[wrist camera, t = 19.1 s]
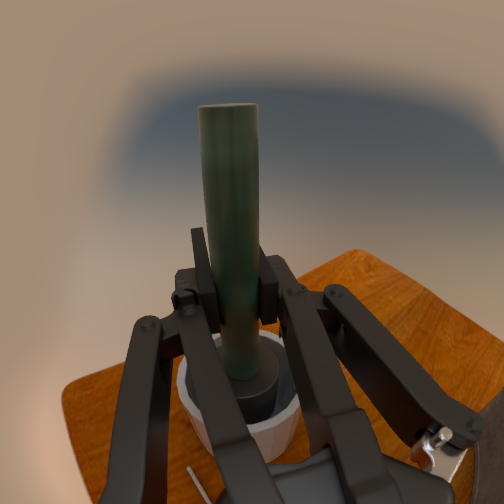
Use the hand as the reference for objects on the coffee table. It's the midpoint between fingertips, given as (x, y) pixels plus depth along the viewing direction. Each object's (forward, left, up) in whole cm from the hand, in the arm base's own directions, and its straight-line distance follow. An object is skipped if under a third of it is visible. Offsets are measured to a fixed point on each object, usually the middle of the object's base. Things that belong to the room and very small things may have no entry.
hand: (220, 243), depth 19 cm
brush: (+3, -5, -11) cm, 12 cm away
